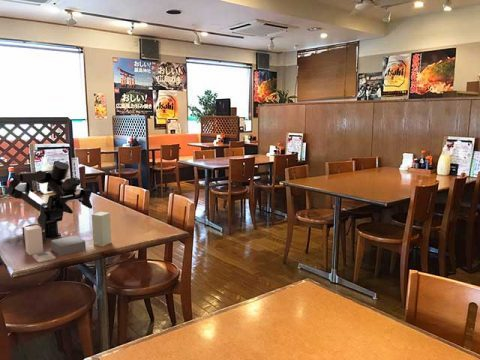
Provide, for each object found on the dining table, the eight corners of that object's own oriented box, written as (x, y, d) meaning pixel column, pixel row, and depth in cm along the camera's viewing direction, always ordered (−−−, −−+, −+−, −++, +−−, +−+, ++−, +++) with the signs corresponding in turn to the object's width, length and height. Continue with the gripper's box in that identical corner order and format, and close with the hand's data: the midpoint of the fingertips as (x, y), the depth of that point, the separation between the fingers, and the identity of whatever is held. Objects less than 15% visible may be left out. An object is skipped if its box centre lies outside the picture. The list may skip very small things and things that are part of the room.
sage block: (93, 244, 159) (91, 214, 157) (101, 241, 164) (100, 211, 161) (103, 246, 157) (101, 215, 155) (111, 242, 162) (109, 212, 160)
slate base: (51, 249, 154) (51, 240, 153) (77, 244, 160) (76, 235, 160) (59, 256, 146) (58, 247, 146) (85, 250, 153) (85, 241, 152)
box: (35, 245, 158) (34, 228, 156) (23, 244, 159) (21, 227, 158) (46, 240, 164) (44, 224, 162) (33, 239, 165) (32, 223, 164)
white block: (26, 251, 151) (23, 227, 149) (39, 248, 154) (37, 224, 152) (29, 255, 147) (26, 230, 145) (43, 252, 150) (41, 227, 149)
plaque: (32, 256, 146) (32, 254, 145) (49, 252, 149) (49, 251, 149) (38, 262, 140) (38, 260, 140) (55, 258, 144) (55, 256, 143)
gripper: (43, 176, 151) (66, 198, 145) (83, 170, 166) (106, 190, 161) (37, 198, 155) (59, 221, 149) (77, 190, 171) (99, 211, 165)
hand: (82, 210), depth 156 cm, fingers open, 9 cm apart
